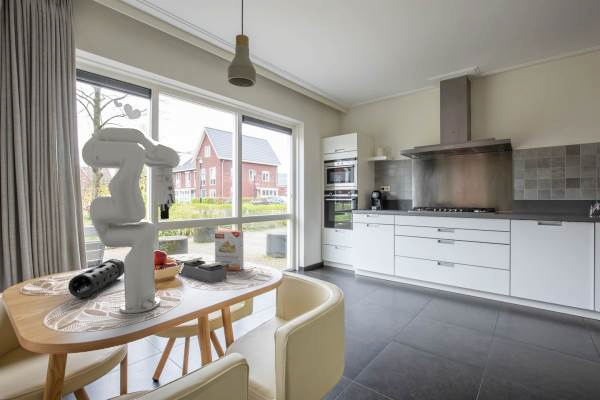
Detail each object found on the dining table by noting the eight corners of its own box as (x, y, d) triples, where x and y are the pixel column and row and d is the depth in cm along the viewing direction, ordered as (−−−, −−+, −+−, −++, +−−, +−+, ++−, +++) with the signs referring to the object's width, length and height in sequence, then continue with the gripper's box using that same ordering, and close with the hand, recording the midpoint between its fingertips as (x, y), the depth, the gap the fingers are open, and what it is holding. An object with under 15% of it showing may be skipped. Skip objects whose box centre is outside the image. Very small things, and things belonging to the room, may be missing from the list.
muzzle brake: (67, 301, 108) (66, 274, 108) (106, 279, 136) (105, 257, 135) (94, 300, 109) (94, 273, 109) (127, 278, 137) (127, 257, 137)
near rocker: (220, 265, 135) (219, 261, 135) (211, 268, 131) (211, 264, 131) (209, 265, 140) (209, 262, 140) (201, 268, 136) (200, 264, 136)
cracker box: (214, 270, 149) (214, 231, 149) (219, 267, 155) (219, 229, 155) (239, 271, 147) (239, 231, 147) (243, 268, 153) (243, 230, 153)
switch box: (226, 277, 136) (226, 265, 136) (210, 282, 129) (210, 269, 128) (194, 269, 151) (194, 258, 151) (178, 273, 144) (178, 261, 143)
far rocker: (202, 260, 143) (201, 256, 144) (193, 262, 139) (192, 258, 140) (193, 263, 148) (192, 259, 148) (184, 265, 144) (184, 261, 144)
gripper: (180, 179, 130) (181, 219, 131) (163, 180, 139) (164, 217, 139) (164, 179, 124) (165, 220, 125) (147, 180, 133) (148, 218, 133)
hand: (164, 218), depth 132 cm, fingers closed
